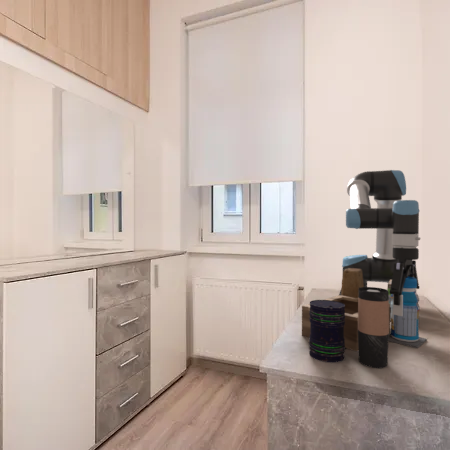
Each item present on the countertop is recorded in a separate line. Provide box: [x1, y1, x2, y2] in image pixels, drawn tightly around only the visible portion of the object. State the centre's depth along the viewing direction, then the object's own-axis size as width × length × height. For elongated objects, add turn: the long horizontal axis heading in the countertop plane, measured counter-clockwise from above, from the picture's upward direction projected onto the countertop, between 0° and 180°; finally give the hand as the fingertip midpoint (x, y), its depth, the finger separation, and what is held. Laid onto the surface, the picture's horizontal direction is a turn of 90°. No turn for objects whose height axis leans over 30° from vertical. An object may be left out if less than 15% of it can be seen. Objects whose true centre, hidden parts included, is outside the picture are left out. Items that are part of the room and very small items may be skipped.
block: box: [340, 268, 363, 298], centre depth 131 cm, size 11×8×20 cm
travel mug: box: [358, 286, 390, 369], centre depth 87 cm, size 8×8×20 cm
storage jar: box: [308, 299, 346, 364], centre depth 91 cm, size 10×10×15 cm
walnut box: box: [301, 294, 391, 352], centre depth 110 cm, size 27×19×10 cm
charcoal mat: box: [388, 333, 428, 349], centre depth 104 cm, size 10×10×1 cm
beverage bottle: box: [389, 277, 421, 342], centre depth 104 cm, size 8×8×20 cm
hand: (404, 311), depth 105 cm, fingers open, 13 cm apart
